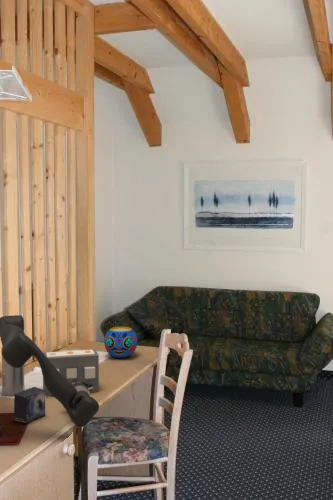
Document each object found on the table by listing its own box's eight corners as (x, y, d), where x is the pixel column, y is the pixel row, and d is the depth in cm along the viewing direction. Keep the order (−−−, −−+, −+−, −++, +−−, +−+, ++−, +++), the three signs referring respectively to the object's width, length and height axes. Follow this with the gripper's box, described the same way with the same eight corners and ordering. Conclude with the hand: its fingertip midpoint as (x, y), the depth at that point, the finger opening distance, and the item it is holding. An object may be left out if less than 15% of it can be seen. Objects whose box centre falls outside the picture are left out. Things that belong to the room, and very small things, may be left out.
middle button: (66, 378, 241) (66, 368, 240) (65, 376, 244) (65, 366, 243) (76, 377, 242) (76, 367, 241) (76, 375, 245) (76, 365, 244)
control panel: (44, 396, 239) (43, 357, 237) (43, 388, 248) (42, 351, 247) (98, 391, 245) (98, 353, 243) (95, 384, 254) (95, 348, 253)
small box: (26, 425, 208) (25, 397, 207) (13, 421, 211) (12, 393, 210) (46, 416, 217) (46, 389, 216) (34, 412, 220) (33, 386, 219)
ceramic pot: (101, 361, 292) (101, 332, 291) (106, 352, 310) (106, 325, 309) (135, 361, 292) (135, 332, 290) (138, 352, 309) (138, 325, 308)
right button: (84, 378, 241) (84, 368, 240) (84, 376, 244) (83, 366, 243) (95, 377, 242) (95, 367, 241) (94, 375, 245) (94, 365, 244)
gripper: (61, 407, 211) (58, 392, 228) (97, 403, 215) (91, 389, 232) (61, 387, 211) (57, 373, 228) (96, 384, 214) (90, 371, 231)
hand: (74, 381), depth 230 cm, fingers closed
